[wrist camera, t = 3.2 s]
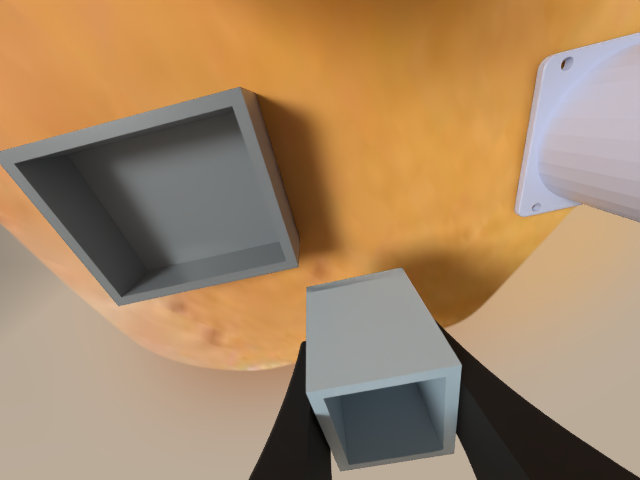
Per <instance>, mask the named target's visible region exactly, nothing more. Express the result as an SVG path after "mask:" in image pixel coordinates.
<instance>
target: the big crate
mask: <svg viewBox="0 0 640 480" xmlns="http://www.w3.org/2000/svg"><path fill="white" fill-rule="evenodd" d="M0 164H1V166H2V167H3V168H4V169H5V170H6V172H7V173H8V174H9V175H10V176H11V178H12V179H13V180H14V181H15V182H16V184H17V185H18V186H19V187H20V188H21V190H22V191H23V192H24V193H25V194H26V196H27V197H28V198H29V199H30V200H31V202H32V203H33V204H34V205H35V206H36V208H37V209H38V210H39V211H40V212H41V214H42V215H43V216H44V217H45V218H46V220H47V221H48V222H49V223H50V224H51V226H52V227H53V228H54V229H55V230H56V232H57V233H58V234H59V235H60V236H61V238H62V239H63V240H64V241H65V242H66V244H67V245H68V246H69V247H70V248H71V250H72V251H73V252H74V253H75V254H76V256H77V257H78V258H79V259H80V260H81V262H82V263H83V264H84V265H85V266H86V268H87V269H88V270H89V271H90V272H91V274H92V275H93V276H94V277H95V278H96V280H97V281H98V282H99V283H100V284H101V286H102V287H103V288H104V289H105V290H106V292H107V293H108V294H109V295H110V297H111V298H112V299H113V300H114V301H115V303H116V304H117V305H118V306H121V305H126V304H130V303H135V302H140V301H144V300H149V299H153V298H158V297H163V296H167V295H172V294H177V293H181V292H186V291H190V290H195V289H200V288H204V287H209V286H213V285H218V284H223V283H227V282H232V281H237V280H241V279H246V278H250V277H255V276H260V275H264V274H269V273H273V272H278V271H283V270H287V269H292V268H297V267H299V250H300V238H299V235H298V231H297V228H296V225H295V221H294V218H293V215H292V211H291V208H290V205H289V201H288V198H287V195H286V192H285V188H284V185H283V182H282V178H281V175H280V172H279V168H278V165H277V162H276V158H275V155H274V152H273V148H272V145H271V142H270V138H269V135H268V132H267V128H266V125H265V122H264V119H263V115H262V112H261V109H260V105H259V102H258V99H257V95H256V93H254V92H252V91H249V90H247V89H244V88H242V87H238V88H234V89H230V90H226V91H223V92H219V93H215V94H212V95H208V96H204V97H200V98H197V99H193V100H189V101H185V102H182V103H178V104H174V105H171V106H167V107H163V108H159V109H156V110H152V111H148V112H145V113H141V114H137V115H133V116H130V117H126V118H122V119H118V120H115V121H111V122H107V123H104V124H100V125H96V126H92V127H89V128H85V129H81V130H78V131H74V132H70V133H66V134H63V135H59V136H55V137H51V138H48V139H44V140H40V141H37V142H33V143H29V144H25V145H22V146H18V147H14V148H11V149H7V150H3V151H0Z"/></svg>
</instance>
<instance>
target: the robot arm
mask: <svg viewBox="0 0 640 480" xmlns="http://www.w3.org/2000/svg"><path fill="white" fill-rule="evenodd" d="M564 60H565V65H564V68H563V69H561V64H562V62H563V61H564ZM581 204H585V205H588V206H591V207H594V208H597V209H600V210H603V211H606V212H609V213H612V214H616V215H619V216H622V217H625V218H628V219H631V220H634V221H637V222H640V32H639V33H635V34H631V35H627V36H623V37H619V38H615V39H611V40H607V41H603V42H600V43H596V44H592V45H588V46H584V47H580V48H576V49H572V50H568V51H564V52H560V53H557V54H553V55H550V56H548V57H546V58H545V59H544V60H543V61H542V62H541V64H540V65H539V68H538V72H537V78H536V84H535V90H534V96H533V102H532V108H531V114H530V120H529V126H528V132H527V138H526V143H525V149H524V155H523V161H522V167H521V173H520V179H519V185H518V191H517V197H516V203H515V209H514V210H515V213H516V214H517V215H519V216H522V217H527V216H531V215H536V214H541V213H545V212H550V211H554V210H559V209H564V208H568V207H573V206H577V205H581ZM534 205H535V206H534ZM533 206H534V207H533ZM532 207H533V208H532ZM433 319H434V318H433ZM434 320H435V319H434ZM435 322H436V324H437V325H438V327H439V328H440V330H441V332H442V333H443V335H444V337H445V338H446V340H447V342H448V343H449V345H450V346H451V348H452V350H453V351H454V353H455V355H456V356H457V358H458V359H459V361H460V363H461V364H462V369H461V380H460V392H459V403H458V414H457V426H456V434H457V435H458V437H459V439H460V442H461V443H462V446H463V448H464V450H465V452H466V454H467V457H468V459H469V461H470V464H471V466H472V468H473V471H474V473H475V475H476V478H477V480H640V478H639V477H638V476H636V475H634V474H633V473H631V472H630V471H628V470H626V469H625V468H623V467H622V466H620V465H619V464H617V463H615V462H614V461H613V460H611V459H610V458H608V457H607V456H605V455H604V454H602V453H601V452H599V451H598V450H596V449H595V448H593V447H592V446H590V445H588V444H587V443H586V442H584V441H582V440H581V439H580V438H578V437H576V436H575V435H574V434H572V433H570V432H569V431H568V430H566V429H565V428H563V427H562V426H560V425H559V424H558V423H556V422H555V421H553V420H552V419H551V418H549V417H548V416H547V415H545V414H544V413H543V412H541V411H540V410H539V409H537V408H536V407H535V406H533V405H532V404H530V403H529V402H528V401H526V400H525V399H524V398H523V397H521V396H520V395H518V394H517V393H516V392H515V391H514V390H512V389H511V388H510V387H508V386H507V385H506V384H505V383H504V382H502V381H501V380H500V379H499V378H498V377H496V376H495V375H494V374H493V373H491V372H490V371H489V370H488V369H487V368H486V367H484V366H483V365H482V364H481V363H480V362H479V361H478V360H476V359H475V358H474V357H473V356H472V355H471V354H470V353H469V352H467V351H466V350H465V349H464V348H463V347H462V346H461V345H460V344H459V343H458V342H457V341H456V340H455V339H454V338H453V337H452V336H451V335H450V334H448V333H447V332H446V331H445V330H444V329H443V328H442V327H441V326H440V324H439V323H438V322H437V321H436V320H435ZM249 480H332V475H331V449H330V447H329V444H328V442H327V440H326V438H325V435H324V433H323V431H322V429H321V426H320V424H319V422H318V419H317V417H316V415H315V413H314V410H313V408H312V406H311V404H310V401H309V399H308V397H307V394H306V341H303V342H302V343H301V346H300V350H299V354H298V358H297V362H296V365H295V369H294V372H293V375H292V378H291V381H290V384H289V387H288V390H287V393H286V396H285V399H284V401H283V404H282V406H281V409H280V411H279V414H278V416H277V419H276V421H275V424H274V427H273V429H272V431H271V433H270V436H269V438H268V440H267V442H266V445H265V447H264V449H263V451H262V453H261V455H260V458H259V460H258V462H257V464H256V466H255V468H254V470H253V472H252V474H251V476H250V478H249Z"/></svg>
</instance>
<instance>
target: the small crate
mask: <svg viewBox="0 0 640 480" xmlns="http://www.w3.org/2000/svg"><path fill="white" fill-rule="evenodd" d="M461 369H462V364H461V363H460V361H459V359H458V358H457V356H456V355H455V353H454V351H453V350H452V348H451V346H450V345H449V343H448V342H447V340H446V338H445V337H444V335H443V333H442V332H441V330H440V328H439V327H438V325H437V324H436V322H435V320H434V319H433V317H432V315H431V314H430V312H429V310H428V309H427V307H426V306H425V304H424V302H423V301H422V299H421V297H420V296H419V294H418V293H417V291H416V289H415V288H414V286H413V284H412V283H411V281H410V279H409V278H408V276H407V275H406V273H405V271H404V270H403V268H402V267H401V268H397V269H392V270H387V271H382V272H377V273H373V274H368V275H363V276H358V277H353V278H349V279H344V280H339V281H334V282H330V283H325V284H320V285H315V286H310V287H307V300H306V394H307V397H308V399H309V401H310V404H311V406H312V408H313V410H314V413H315V415H316V417H317V419H318V422H319V424H320V426H321V429H322V431H323V433H324V435H325V438H326V440H327V442H328V444H329V447H330V449H331V451H332V453H333V456H334V458H335V460H336V463H337V465H338V467H339V469H340V471H346V470H352V469H359V468H364V467H371V466H377V465H384V464H391V463H396V462H403V461H410V460H416V459H422V458H429V457H434V456H442V455H447V454H454V449H455V437H456V426H457V414H458V403H459V392H460V380H461Z"/></svg>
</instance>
